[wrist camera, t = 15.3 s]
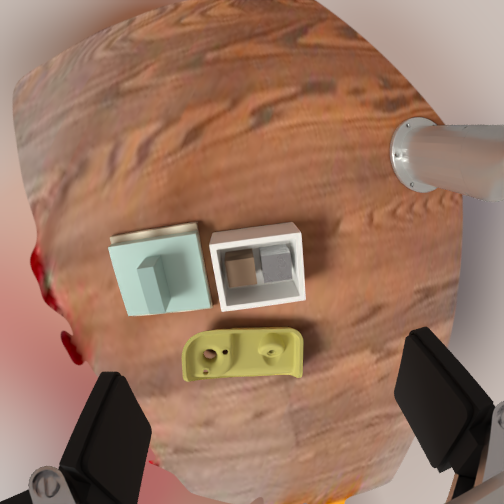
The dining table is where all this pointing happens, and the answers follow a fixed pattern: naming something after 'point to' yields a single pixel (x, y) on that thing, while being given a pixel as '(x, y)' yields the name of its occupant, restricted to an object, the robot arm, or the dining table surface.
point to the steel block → (275, 263)
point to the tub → (258, 266)
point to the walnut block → (240, 268)
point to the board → (161, 232)
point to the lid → (161, 274)
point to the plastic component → (244, 353)
